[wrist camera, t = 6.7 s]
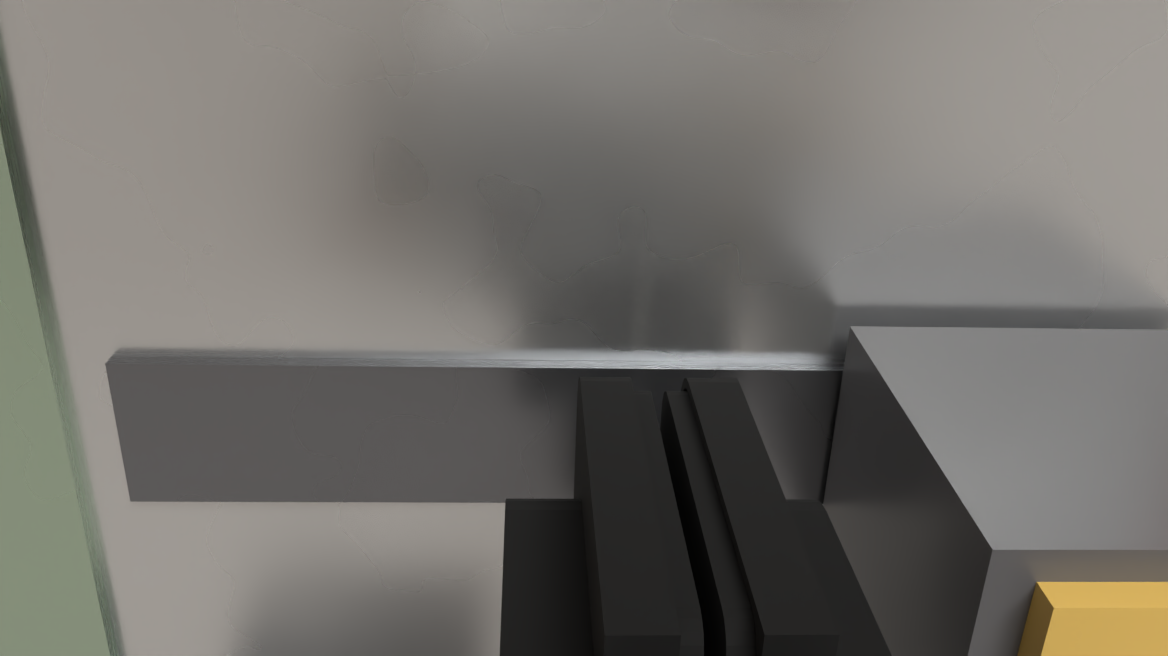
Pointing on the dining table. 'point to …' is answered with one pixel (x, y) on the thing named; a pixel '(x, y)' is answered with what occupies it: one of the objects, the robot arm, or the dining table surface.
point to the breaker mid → (1006, 488)
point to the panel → (495, 270)
